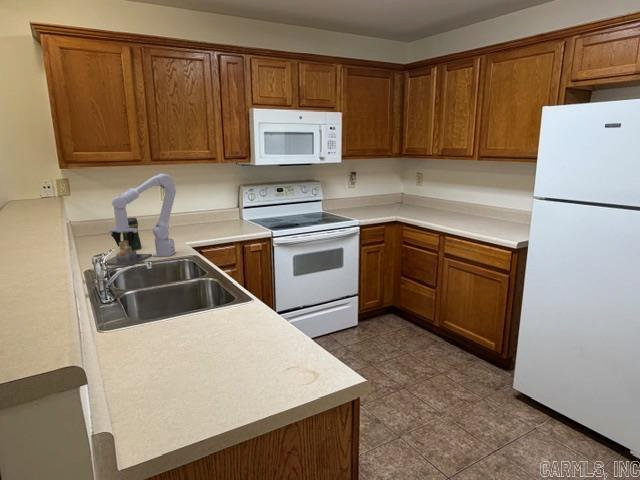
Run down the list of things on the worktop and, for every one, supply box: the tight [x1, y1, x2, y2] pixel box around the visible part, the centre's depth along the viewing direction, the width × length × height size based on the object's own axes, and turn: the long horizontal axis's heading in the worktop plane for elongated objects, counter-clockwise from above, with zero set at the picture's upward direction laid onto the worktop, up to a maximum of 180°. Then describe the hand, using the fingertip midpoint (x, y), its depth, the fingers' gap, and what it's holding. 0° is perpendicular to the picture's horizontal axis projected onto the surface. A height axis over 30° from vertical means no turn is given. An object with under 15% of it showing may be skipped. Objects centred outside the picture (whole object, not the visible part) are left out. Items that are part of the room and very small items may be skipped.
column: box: [118, 240, 133, 254], centre depth 214 cm, size 4×4×6 cm
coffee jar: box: [121, 217, 143, 251], centre depth 238 cm, size 10×8×19 cm
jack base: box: [105, 250, 153, 266], centre depth 215 cm, size 18×18×4 cm
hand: (125, 246), depth 214 cm, fingers open, 6 cm apart
